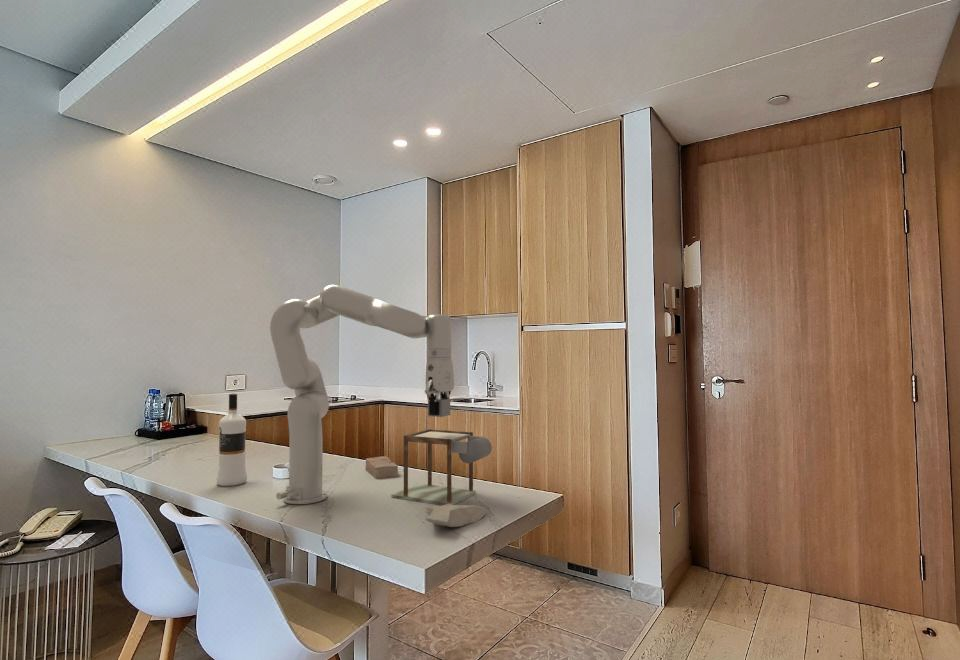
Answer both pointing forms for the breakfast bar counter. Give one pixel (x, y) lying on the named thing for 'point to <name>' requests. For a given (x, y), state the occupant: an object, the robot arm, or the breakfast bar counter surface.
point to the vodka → (232, 447)
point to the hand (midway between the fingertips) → (439, 413)
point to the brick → (381, 467)
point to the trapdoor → (465, 445)
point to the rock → (454, 514)
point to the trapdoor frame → (430, 491)
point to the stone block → (442, 407)
